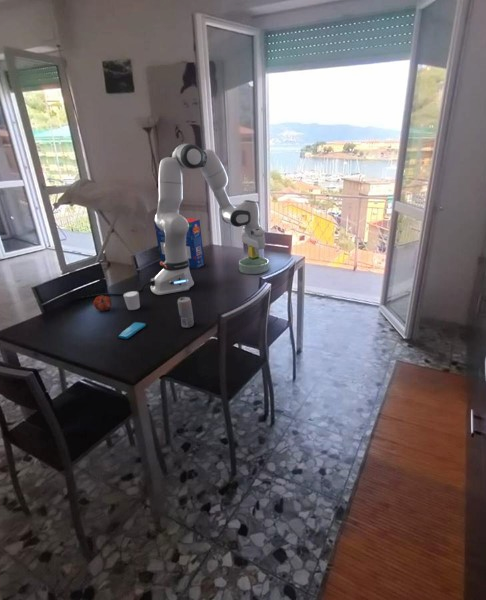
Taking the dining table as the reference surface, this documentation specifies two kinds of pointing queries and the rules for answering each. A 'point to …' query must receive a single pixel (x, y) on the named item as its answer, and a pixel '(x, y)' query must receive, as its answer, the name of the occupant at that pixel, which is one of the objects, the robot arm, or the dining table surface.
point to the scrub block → (252, 253)
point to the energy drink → (185, 312)
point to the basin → (253, 265)
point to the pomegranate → (102, 303)
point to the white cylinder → (132, 300)
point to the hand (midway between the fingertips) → (253, 253)
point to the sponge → (131, 330)
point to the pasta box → (192, 243)
